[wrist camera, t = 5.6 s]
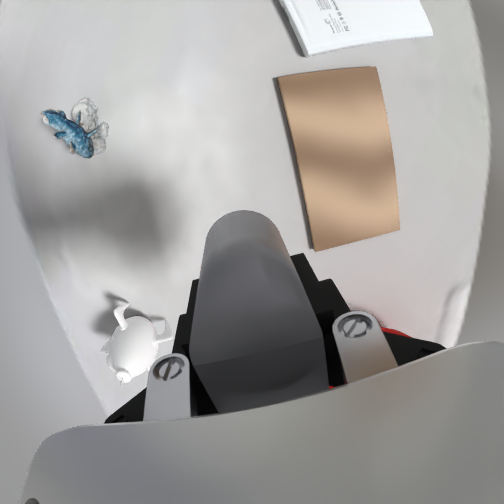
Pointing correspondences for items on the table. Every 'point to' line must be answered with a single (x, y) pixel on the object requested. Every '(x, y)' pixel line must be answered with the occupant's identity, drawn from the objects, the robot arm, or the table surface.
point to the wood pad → (342, 154)
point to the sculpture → (79, 128)
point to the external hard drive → (354, 23)
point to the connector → (253, 319)
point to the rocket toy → (133, 345)
